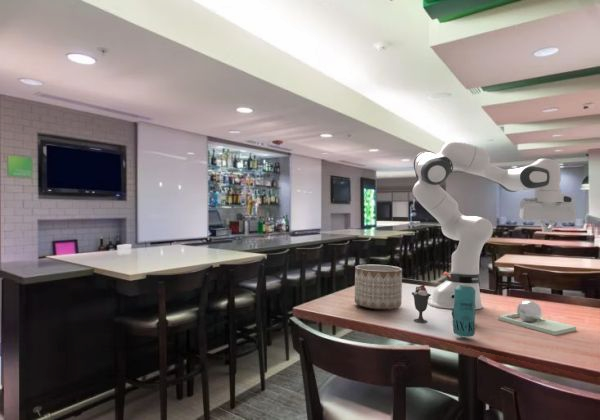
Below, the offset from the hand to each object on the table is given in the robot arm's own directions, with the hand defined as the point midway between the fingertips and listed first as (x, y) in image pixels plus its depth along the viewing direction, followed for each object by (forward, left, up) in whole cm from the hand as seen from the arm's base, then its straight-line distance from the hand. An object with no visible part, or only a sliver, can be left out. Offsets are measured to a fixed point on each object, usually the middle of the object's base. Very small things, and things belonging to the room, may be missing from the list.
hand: (546, 232), depth 152 cm
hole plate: (-14, -18, -33) cm, 40 cm away
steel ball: (-14, -16, -29) cm, 36 cm away
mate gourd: (-39, -22, -33) cm, 56 cm away
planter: (-68, -4, -33) cm, 76 cm away
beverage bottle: (-44, -40, -33) cm, 68 cm away
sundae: (-54, -23, -33) cm, 67 cm away
